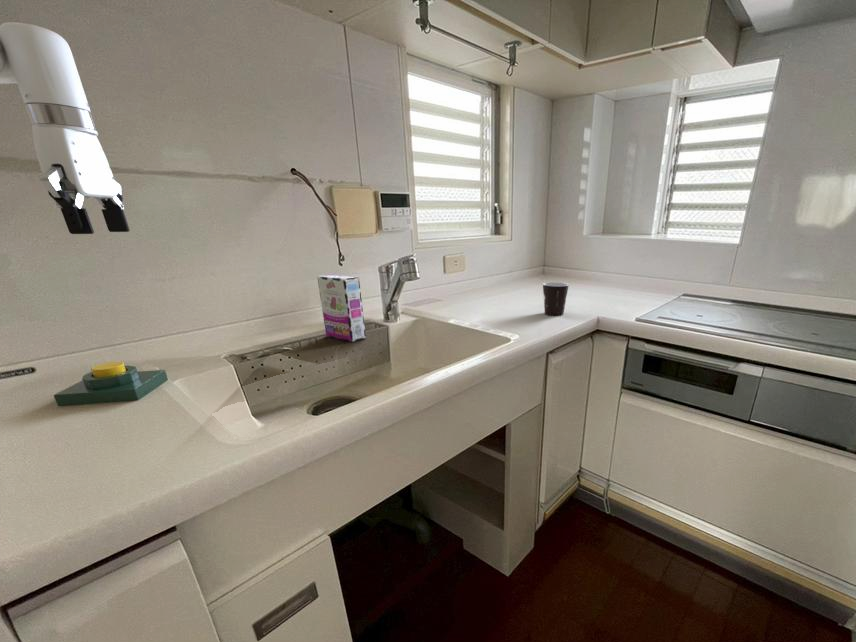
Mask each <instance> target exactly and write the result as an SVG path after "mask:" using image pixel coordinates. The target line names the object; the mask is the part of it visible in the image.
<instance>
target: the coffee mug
mask: <svg viewBox="0 0 856 642" xmlns="http://www.w3.org/2000/svg"><path fill="white" fill-rule="evenodd" d="M569 285H570V284H569V283H566V282H558V281H556V282H555V281H554V282H553V281H552V282H551V281H550V282H543V283H542V289H543V290H542V292H543V293H542V294H543V307H544V315H545V316H551V317H552V316H553V317H561V316H563V315H564V312H565V308H566V303H567V297H568V290H569Z"/></svg>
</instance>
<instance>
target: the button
mask: <svg viewBox="0 0 856 642" xmlns="http://www.w3.org/2000/svg"><path fill="white" fill-rule="evenodd" d="M125 366H126V365H125V363H124V362H123V361H110V362H104V363H100V364H96V365H94V366H92V367H90V370H91V372H92V373H93V376H94V377H95V378H99V377H108V376H114V375H118V374H121V373H124V372H126V369H125Z"/></svg>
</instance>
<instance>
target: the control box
mask: <svg viewBox="0 0 856 642" xmlns="http://www.w3.org/2000/svg"><path fill="white" fill-rule="evenodd" d="M124 366H125V369H126V372H124V373H121V374H118V375H114V376H108V377H99V378H95V377H94V376H93V373H92V371H89V372H88V373H86V374H84V375H82V376H81V377H82V378H81V379H82V380H81V381H78V382H76V383H74V384H71V385H70V386H69V387H67V388H64V389H63V390H60V391H58V392H57V393H55V394H53V398H54V400H55V402H56V405H57V406H58V407H69V406H70V407H71V406H82V405H95V404H96V405H97V404H107V403H108V404H110V403H124V402H136V401H140V400H141V399H143V398H145V396H147V395H148V394H150V393H151V392H153V391H154V390H156V389H157V388H159V387H160V386H162V385H163V384H165V383H166V382H167V381H168V380H169V378H168V376H167V372H166V369H157V370H156V369H155V370H141V371H140V370H139V371H138V369H137V367H136V366H134V365H124Z"/></svg>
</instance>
